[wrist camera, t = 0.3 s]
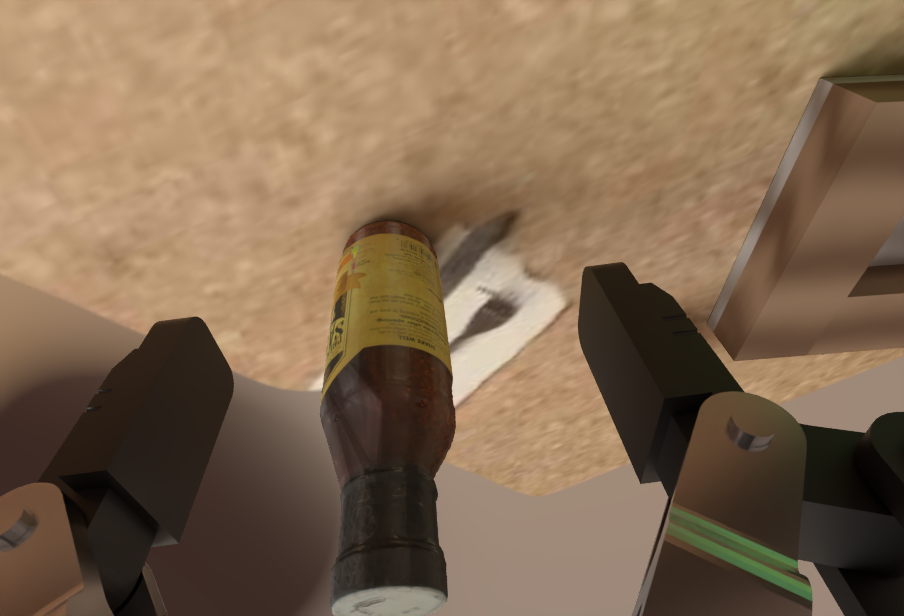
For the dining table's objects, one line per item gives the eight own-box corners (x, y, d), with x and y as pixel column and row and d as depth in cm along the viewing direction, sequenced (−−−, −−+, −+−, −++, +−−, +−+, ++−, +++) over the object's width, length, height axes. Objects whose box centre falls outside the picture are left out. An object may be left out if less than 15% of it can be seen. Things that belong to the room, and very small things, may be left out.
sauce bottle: (329, 221, 28) (255, 582, 14) (432, 209, 29) (472, 554, 14) (353, 303, 33) (317, 645, 18) (443, 292, 33) (482, 624, 18)
